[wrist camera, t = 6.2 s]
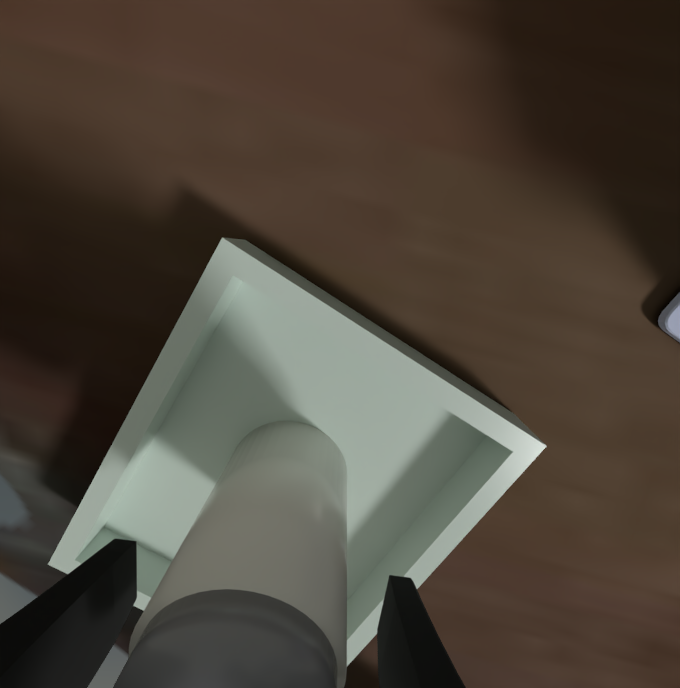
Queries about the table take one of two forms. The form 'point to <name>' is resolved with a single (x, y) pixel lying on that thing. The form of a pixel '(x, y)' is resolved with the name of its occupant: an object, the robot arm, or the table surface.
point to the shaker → (256, 575)
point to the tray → (309, 408)
